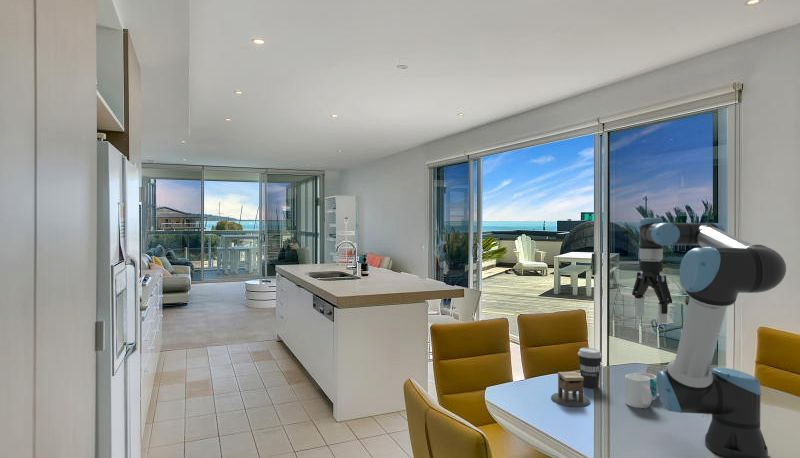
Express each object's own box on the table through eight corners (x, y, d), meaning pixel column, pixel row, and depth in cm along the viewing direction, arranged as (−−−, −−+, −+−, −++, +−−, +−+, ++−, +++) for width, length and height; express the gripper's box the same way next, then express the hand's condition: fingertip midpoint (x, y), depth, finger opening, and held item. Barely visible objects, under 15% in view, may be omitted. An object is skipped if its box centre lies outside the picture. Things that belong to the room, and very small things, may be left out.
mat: (597, 406, 173) (597, 405, 173) (560, 407, 172) (560, 406, 172) (579, 393, 187) (579, 392, 187) (545, 394, 186) (545, 392, 186)
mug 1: (661, 412, 168) (661, 383, 168) (639, 413, 167) (639, 384, 167) (641, 400, 180) (641, 373, 180) (620, 401, 179) (620, 373, 179)
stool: (583, 402, 176) (583, 377, 176) (565, 402, 176) (565, 377, 176) (575, 395, 183) (575, 371, 183) (557, 395, 183) (557, 372, 183)
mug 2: (629, 393, 188) (629, 372, 188) (657, 392, 189) (657, 371, 189) (642, 400, 179) (642, 378, 179) (671, 399, 181) (671, 377, 181)
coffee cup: (572, 384, 198) (572, 348, 198) (589, 381, 202) (589, 346, 202) (590, 391, 189) (590, 354, 189) (607, 388, 193) (607, 351, 194)
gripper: (684, 262, 158) (683, 326, 158) (640, 258, 183) (640, 312, 183) (662, 262, 158) (662, 326, 158) (622, 258, 183) (622, 313, 183)
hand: (650, 319), depth 171 cm, fingers open, 13 cm apart
